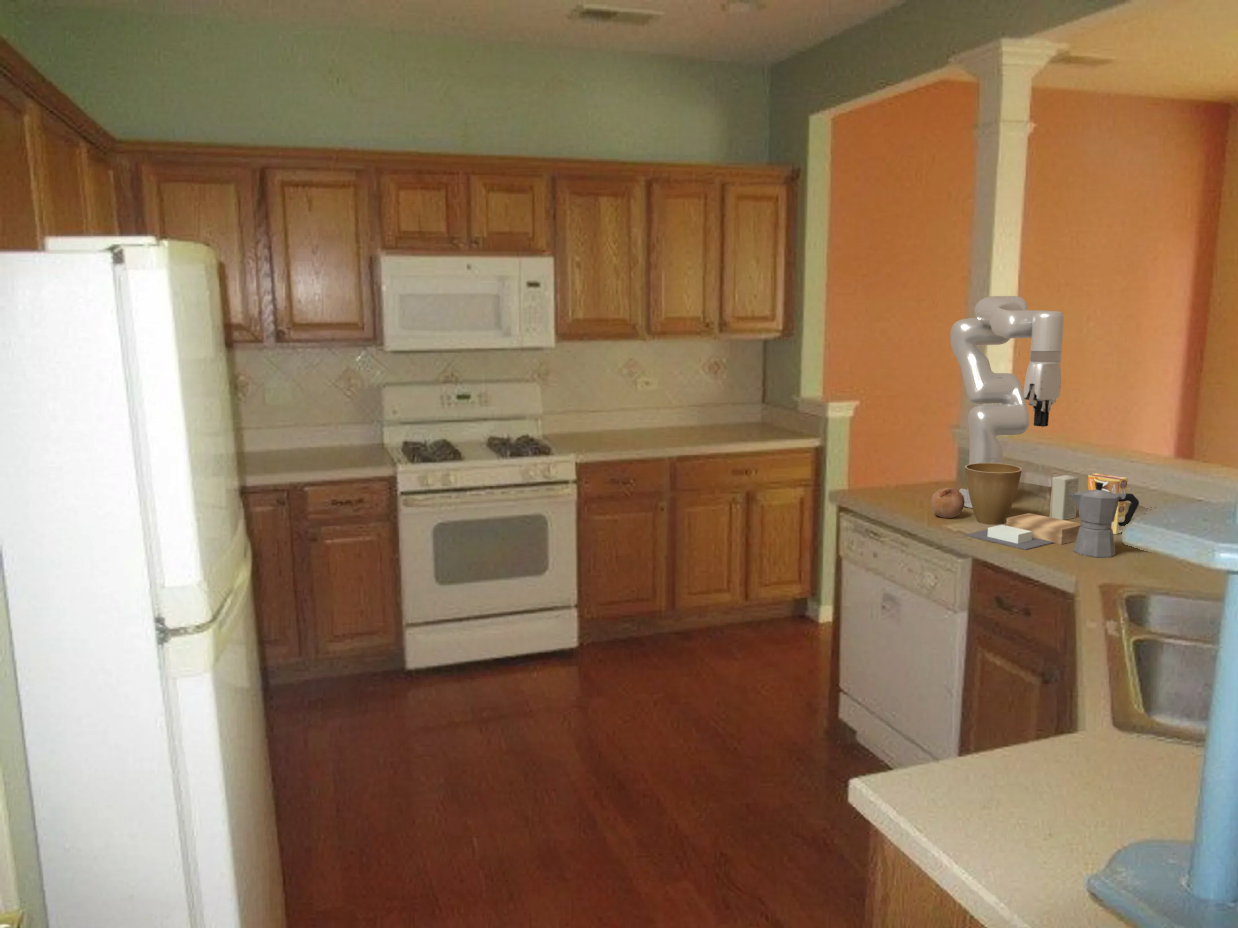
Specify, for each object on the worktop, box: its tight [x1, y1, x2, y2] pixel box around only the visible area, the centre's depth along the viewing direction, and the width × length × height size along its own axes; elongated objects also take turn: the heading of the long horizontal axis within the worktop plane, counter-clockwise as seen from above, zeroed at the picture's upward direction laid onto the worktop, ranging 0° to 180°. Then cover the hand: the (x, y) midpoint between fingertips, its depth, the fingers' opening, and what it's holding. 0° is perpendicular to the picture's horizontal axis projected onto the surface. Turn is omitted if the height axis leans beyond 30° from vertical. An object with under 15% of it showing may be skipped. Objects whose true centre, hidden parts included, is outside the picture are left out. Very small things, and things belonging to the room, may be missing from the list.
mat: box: [965, 528, 1055, 551], centre depth 236 cm, size 18×12×1 cm, turn 32°
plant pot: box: [964, 462, 1023, 525], centre depth 254 cm, size 15×15×16 cm
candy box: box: [1086, 472, 1128, 535], centre depth 242 cm, size 9×4×15 cm, turn 33°
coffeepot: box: [1069, 482, 1140, 559], centre depth 220 cm, size 15×9×18 cm, turn 69°
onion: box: [930, 487, 965, 519], centre depth 261 cm, size 10×9×10 cm
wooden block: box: [1005, 513, 1081, 546], centre depth 238 cm, size 16×10×4 cm, turn 32°
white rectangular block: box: [987, 524, 1032, 544], centre depth 235 cm, size 9×6×2 cm, turn 32°
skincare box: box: [1049, 474, 1080, 521], centre depth 257 cm, size 6×4×12 cm
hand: (1040, 425), depth 240 cm, fingers closed
